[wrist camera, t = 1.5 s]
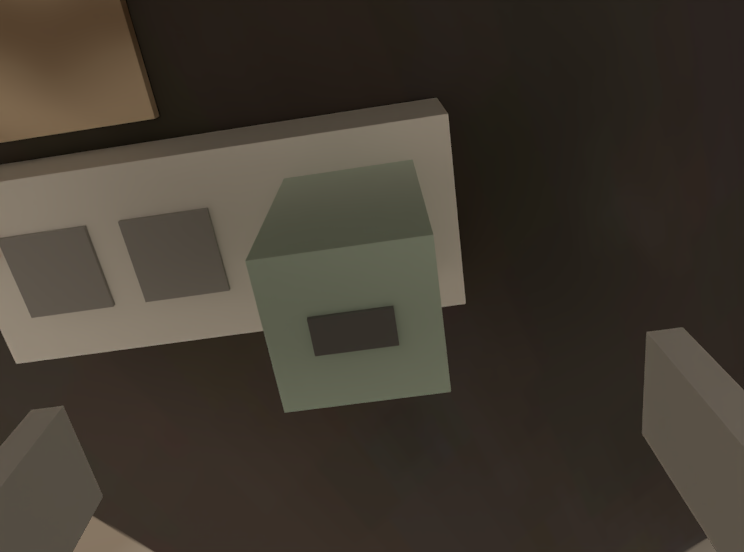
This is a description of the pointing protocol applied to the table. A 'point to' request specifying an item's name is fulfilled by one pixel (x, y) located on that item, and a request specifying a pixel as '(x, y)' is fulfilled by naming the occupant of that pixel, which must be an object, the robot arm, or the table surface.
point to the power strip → (187, 226)
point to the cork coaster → (69, 68)
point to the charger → (350, 289)
